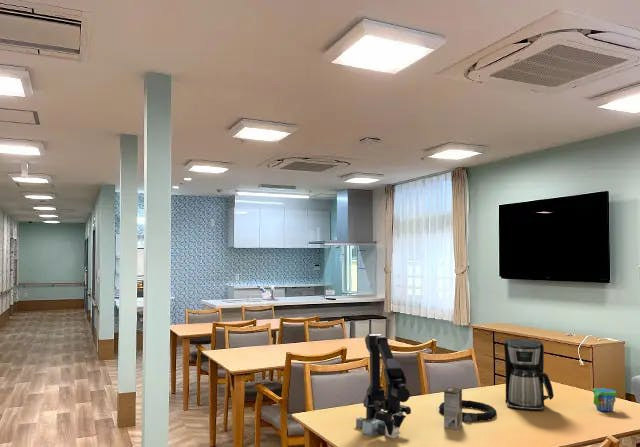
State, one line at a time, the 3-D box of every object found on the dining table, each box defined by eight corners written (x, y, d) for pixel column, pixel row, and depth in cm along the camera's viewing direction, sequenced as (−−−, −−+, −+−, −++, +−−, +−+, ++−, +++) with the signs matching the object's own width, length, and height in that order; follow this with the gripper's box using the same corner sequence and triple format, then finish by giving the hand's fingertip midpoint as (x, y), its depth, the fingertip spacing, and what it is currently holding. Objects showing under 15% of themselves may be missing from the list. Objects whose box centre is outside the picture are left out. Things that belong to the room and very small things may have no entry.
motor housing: (362, 433, 230) (362, 421, 230) (381, 426, 240) (382, 414, 240) (371, 436, 226) (371, 423, 227) (391, 429, 237) (391, 417, 237)
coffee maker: (513, 411, 269) (513, 343, 272) (488, 395, 302) (488, 335, 304) (557, 411, 271) (556, 344, 274) (527, 395, 303) (527, 335, 306)
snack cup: (605, 406, 283) (605, 386, 284) (624, 411, 274) (624, 391, 275) (585, 409, 277) (584, 389, 278) (603, 414, 267) (603, 393, 268)
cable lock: (495, 401, 275) (498, 417, 246) (495, 409, 275) (498, 426, 246) (439, 397, 282) (437, 412, 253) (439, 404, 282) (437, 420, 253)
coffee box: (448, 422, 249) (448, 386, 250) (462, 424, 246) (462, 388, 247) (443, 427, 241) (443, 390, 242) (457, 429, 238) (457, 392, 239)
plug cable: (355, 427, 239) (355, 418, 239) (361, 425, 242) (361, 417, 242) (395, 438, 224) (395, 430, 224) (401, 436, 227) (401, 428, 227)
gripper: (390, 389, 241) (390, 424, 240) (364, 396, 227) (364, 434, 226) (411, 393, 233) (411, 430, 232) (386, 401, 220) (385, 440, 219)
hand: (393, 433), depth 227 cm, fingers closed on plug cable, 4 cm apart
